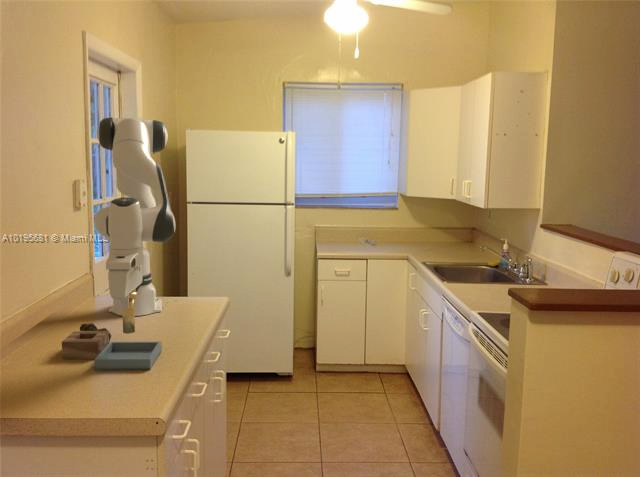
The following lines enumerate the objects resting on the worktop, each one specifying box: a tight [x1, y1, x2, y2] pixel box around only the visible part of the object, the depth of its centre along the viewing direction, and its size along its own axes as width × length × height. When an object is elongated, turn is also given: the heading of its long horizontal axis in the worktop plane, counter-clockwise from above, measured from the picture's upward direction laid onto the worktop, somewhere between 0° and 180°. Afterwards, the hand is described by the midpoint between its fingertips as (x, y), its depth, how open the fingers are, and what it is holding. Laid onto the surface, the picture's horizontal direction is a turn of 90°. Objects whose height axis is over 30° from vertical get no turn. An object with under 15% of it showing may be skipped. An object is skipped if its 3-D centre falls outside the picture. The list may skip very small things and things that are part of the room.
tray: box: [94, 341, 163, 371], centre depth 161 cm, size 15×15×3 cm
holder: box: [61, 330, 110, 360], centre depth 167 cm, size 10×10×5 cm
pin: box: [122, 291, 137, 334], centre depth 159 cm, size 5×5×11 cm
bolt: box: [79, 322, 112, 342], centre depth 179 cm, size 6×5×15 cm
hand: (128, 306), depth 159 cm, fingers closed on pin, 3 cm apart
